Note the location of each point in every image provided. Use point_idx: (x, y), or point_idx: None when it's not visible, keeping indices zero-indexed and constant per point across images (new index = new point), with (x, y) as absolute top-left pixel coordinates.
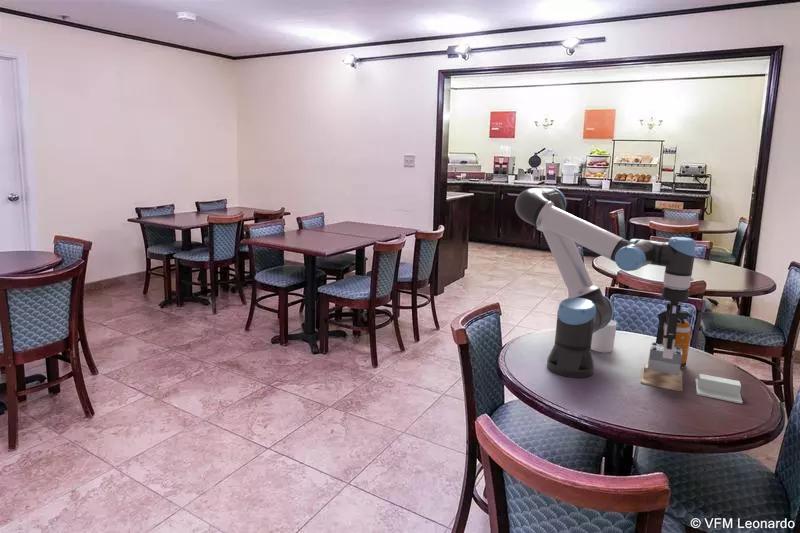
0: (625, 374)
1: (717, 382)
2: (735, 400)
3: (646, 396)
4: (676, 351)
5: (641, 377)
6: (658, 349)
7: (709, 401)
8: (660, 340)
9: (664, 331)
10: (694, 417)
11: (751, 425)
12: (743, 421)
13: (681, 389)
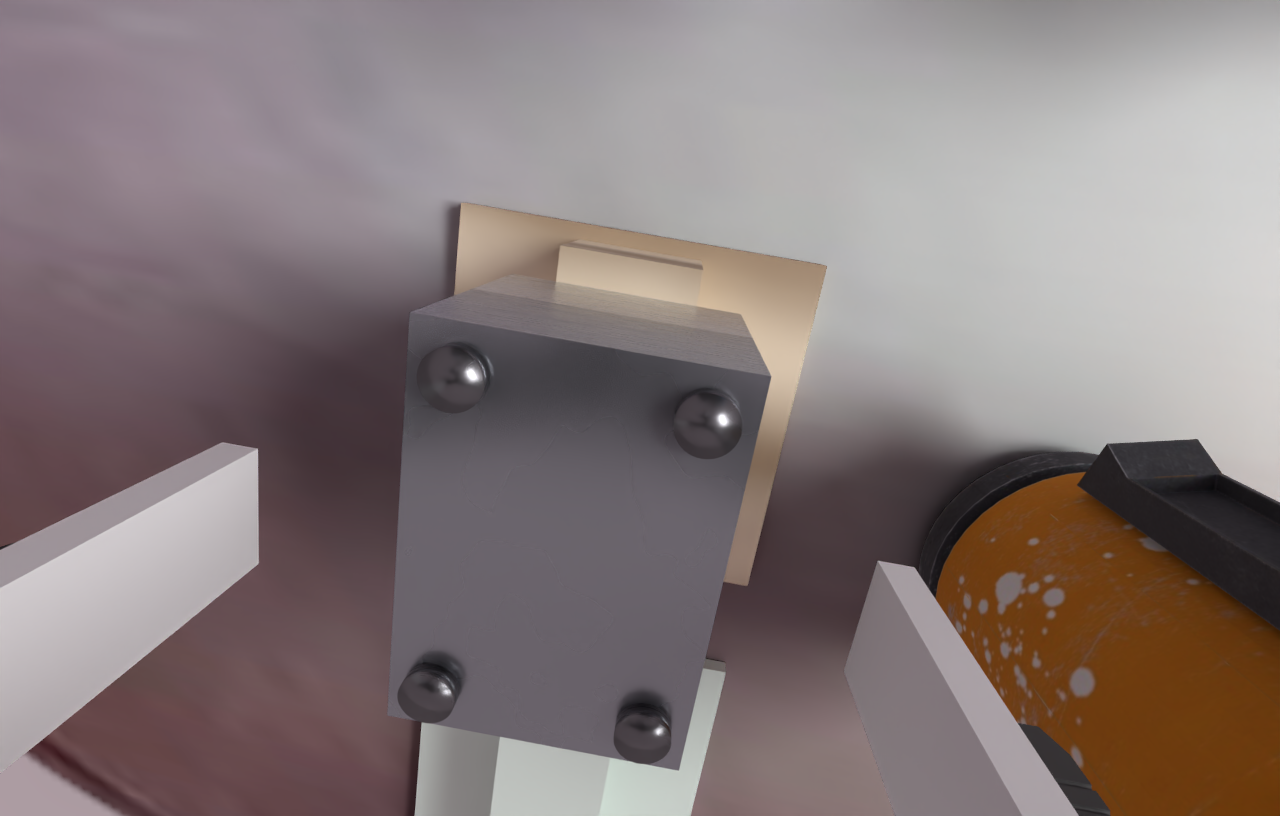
0: (634, 69)
1: (492, 803)
2: (416, 808)
3: (195, 217)
4: (488, 673)
5: (562, 222)
6: (450, 437)
7: (356, 657)
8: (1215, 568)
9: (1008, 721)
10: (31, 503)
11: (129, 780)
12: (157, 758)
13: None
